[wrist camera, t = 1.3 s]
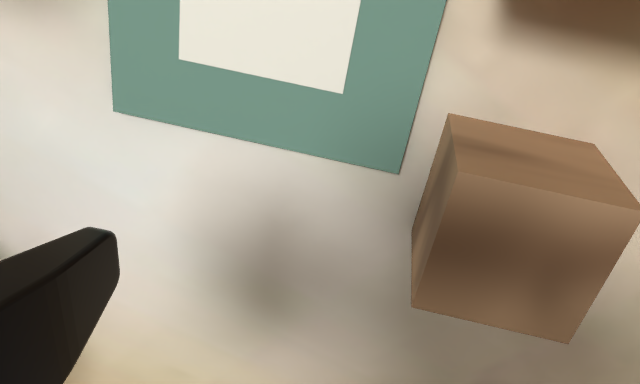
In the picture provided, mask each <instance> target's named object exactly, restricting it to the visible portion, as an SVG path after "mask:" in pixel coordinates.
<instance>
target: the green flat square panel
mask: <svg viewBox="0 0 640 384" xmlns="http://www.w3.org/2000/svg"><path fill="white" fill-rule="evenodd" d="M445 4H446V0H108V15H109V35H110V55H111V75H112V95H113V111H115V112H119V113H124V114H128V115H133V116H137V117H142V118H146V119H151V120H155V121H160V122H164V123H169V124H174V125H178V126H183V127H187V128H192V129H196V130H201V131H205V132H210V133H214V134H219V135H223V136H228V137H232V138H237V139H242V140H246V141H251V142H255V143H260V144H264V145H269V146H273V147H278V148H282V149H287V150H291V151H296V152H300V153H305V154H310V155H314V156H319V157H323V158H328V159H332V160H337V161H341V162H346V163H350V164H355V165H359V166H364V167H368V168H373V169H378V170H382V171H387V172H391V173H396V174H398V173H399V170H400V166H401V163H402V159H403V155H404V152H405V148H406V145H407V141H408V137H409V134H410V130H411V126H412V123H413V119H414V116H415V112H416V108H417V105H418V101H419V98H420V94H421V90H422V87H423V83H424V79H425V76H426V72H427V69H428V65H429V61H430V58H431V54H432V51H433V47H434V43H435V40H436V36H437V32H438V29H439V25H440V22H441V18H442V14H443V11H444V7H445Z"/></svg>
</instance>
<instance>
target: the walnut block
mask: <svg viewBox="0 0 640 384" xmlns="http://www.w3.org/2000/svg"><path fill="white" fill-rule="evenodd" d="M639 223H640V204H639V202H638V201H637V200H636V199H635V197H634V196H633V195H632V193H631V192H630V191H629V189H628V188H627V187H626V185H625V184H624V183H623V181H622V180H621V179H620V177H619V176H618V175H617V174H616V172H615V171H614V170H613V168H612V167H611V166H610V164H609V163H608V162H607V160H606V159H605V158H604V156H603V155H602V154H601V152H600V151H599V150H598V148H597V147H596V146H595V145H594V144H591V143H587V142H582V141H577V140H573V139H568V138H563V137H558V136H554V135H549V134H544V133H540V132H535V131H530V130H525V129H521V128H516V127H511V126H507V125H502V124H497V123H493V122H488V121H483V120H478V119H474V118H469V117H464V116H460V115H455V114H450V113H448V116H447V119H446V122H445V126H444V129H443V132H442V135H441V138H440V142H439V145H438V148H437V151H436V154H435V158H434V161H433V164H432V167H431V170H430V174H429V177H428V180H427V183H426V186H425V190H424V193H423V196H422V199H421V202H420V206H419V209H418V212H417V215H416V218H415V222H414V225H413V228H412V279H411V307H413V308H417V309H421V310H426V311H430V312H434V313H438V314H443V315H447V316H451V317H455V318H460V319H464V320H468V321H472V322H477V323H481V324H485V325H489V326H494V327H498V328H502V329H506V330H511V331H515V332H519V333H523V334H528V335H532V336H536V337H540V338H545V339H549V340H553V341H557V342H562V343H566V344H569V342H570V340H571V339H572V337H573V335H574V334H575V332H576V330H577V328H578V327H579V325H580V323H581V322H582V320H583V318H584V317H585V315H586V313H587V312H588V310H589V308H590V306H591V305H592V303H593V301H594V300H595V298H596V296H597V295H598V293H599V291H600V289H601V288H602V286H603V284H604V283H605V281H606V279H607V278H608V276H609V274H610V273H611V271H612V269H613V267H614V266H615V264H616V262H617V261H618V259H619V257H620V256H621V254H622V252H623V250H624V249H625V247H626V245H627V244H628V242H629V240H630V239H631V237H632V235H633V234H634V232H635V230H636V228H637V227H638V225H639Z"/></svg>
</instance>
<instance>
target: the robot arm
mask: <svg viewBox="0 0 640 384" xmlns="http://www.w3.org/2000/svg"><path fill="white" fill-rule="evenodd" d="M119 275H120V268H119V258H118V248H117V239H116V236H115V234H114V233H113V232H111V231H108V230H103V229H99V228H94V227H86V228H83V229H81V230H78V231H76V232H73V233H71V234H68V235H65V236H63V237H60V238H58V239H55V240H53V241H50V242H48V243H45V244H42V245H40V246H37V247H35V248H32V249H30V250H27V251H24V252H22V253H19V254H17V255H14V256H12V257H9V258H7V259H4V260H1V261H0V384H63V383H64V381H65V380H66V378H67V377H68V375H69V374H70V372H71V370H72V369H73V367H74V365H75V364H76V362H77V360H78V358H79V356H80V355H81V353H82V351H83V349H84V347H85V345H86V343H87V341H88V339H89V338H90V336H91V334H92V332H93V330H94V328H95V326H96V324H97V322H98V320H99V319H100V317H101V315H102V313H103V311H104V309H105V307H106V305H107V303H108V301H109V299H110V298H111V296H112V294H113V292H114V290H115V288H116V286H117V283H118V280H119Z"/></svg>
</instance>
